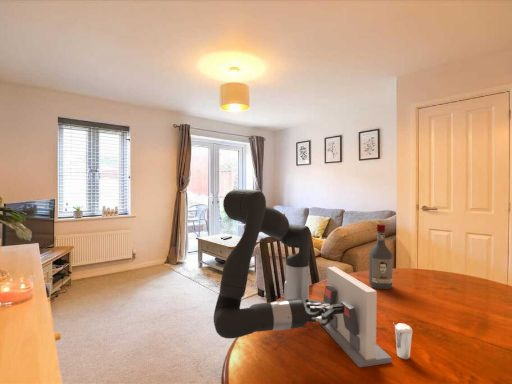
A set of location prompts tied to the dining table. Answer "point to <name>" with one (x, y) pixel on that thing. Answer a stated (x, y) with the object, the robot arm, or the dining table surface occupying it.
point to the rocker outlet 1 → (329, 295)
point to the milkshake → (403, 340)
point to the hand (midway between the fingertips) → (342, 308)
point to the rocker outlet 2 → (350, 318)
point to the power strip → (364, 302)
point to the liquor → (380, 262)
